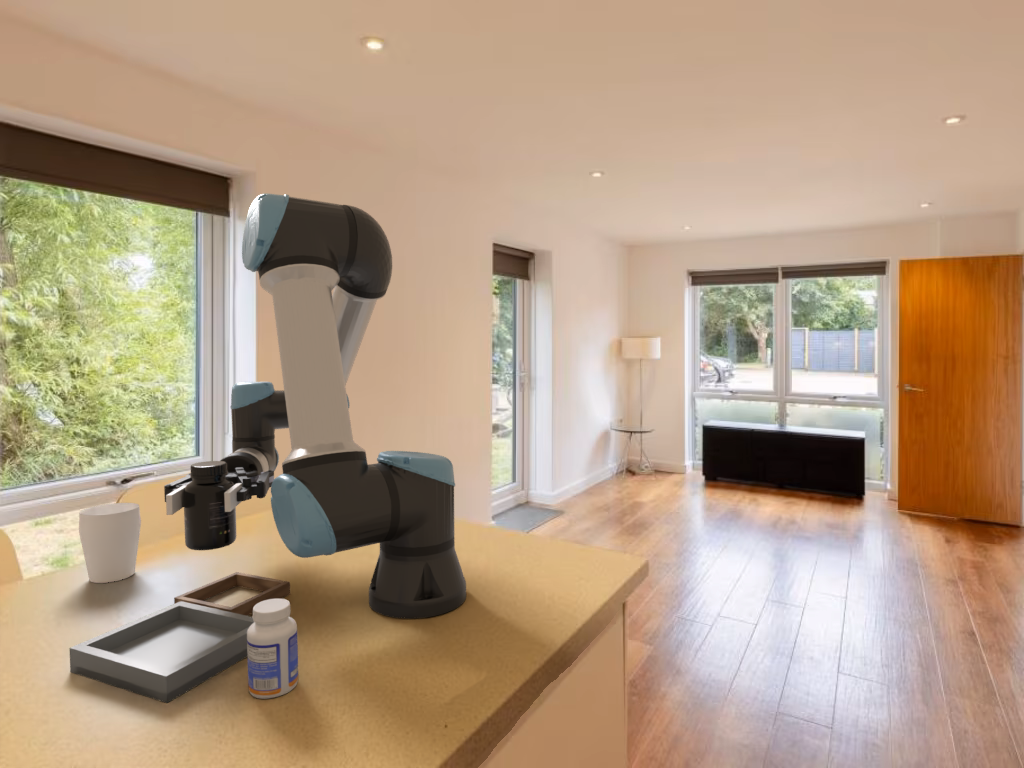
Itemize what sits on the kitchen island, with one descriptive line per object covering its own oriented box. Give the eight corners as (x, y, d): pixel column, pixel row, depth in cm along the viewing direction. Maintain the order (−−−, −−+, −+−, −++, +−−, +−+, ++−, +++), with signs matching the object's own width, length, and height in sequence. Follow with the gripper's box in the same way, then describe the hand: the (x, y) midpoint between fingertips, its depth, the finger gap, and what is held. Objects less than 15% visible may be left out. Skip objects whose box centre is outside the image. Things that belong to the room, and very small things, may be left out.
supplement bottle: (174, 547, 87) (172, 465, 86) (217, 534, 93) (215, 458, 92) (204, 554, 83) (201, 469, 83) (246, 540, 89) (244, 461, 89)
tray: (270, 642, 80) (270, 620, 80) (167, 702, 66) (166, 676, 66) (181, 621, 86) (180, 601, 86) (70, 671, 73) (69, 647, 72)
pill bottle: (283, 669, 73) (281, 591, 72) (307, 685, 69) (306, 603, 69) (239, 689, 69) (236, 606, 68) (263, 706, 65) (260, 619, 65)
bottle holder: (290, 594, 96) (290, 581, 96) (230, 623, 85) (230, 610, 85) (237, 583, 101) (236, 572, 101) (174, 610, 90) (174, 597, 90)
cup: (154, 568, 108) (152, 502, 108) (116, 587, 100) (114, 516, 99) (108, 566, 109) (106, 502, 109) (67, 585, 100) (64, 515, 100)
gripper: (300, 490, 107) (274, 526, 85) (181, 496, 104) (121, 534, 81) (299, 449, 107) (273, 473, 84) (179, 453, 103) (119, 480, 81)
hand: (198, 503), depth 83 cm, fingers closed on supplement bottle, 7 cm apart
